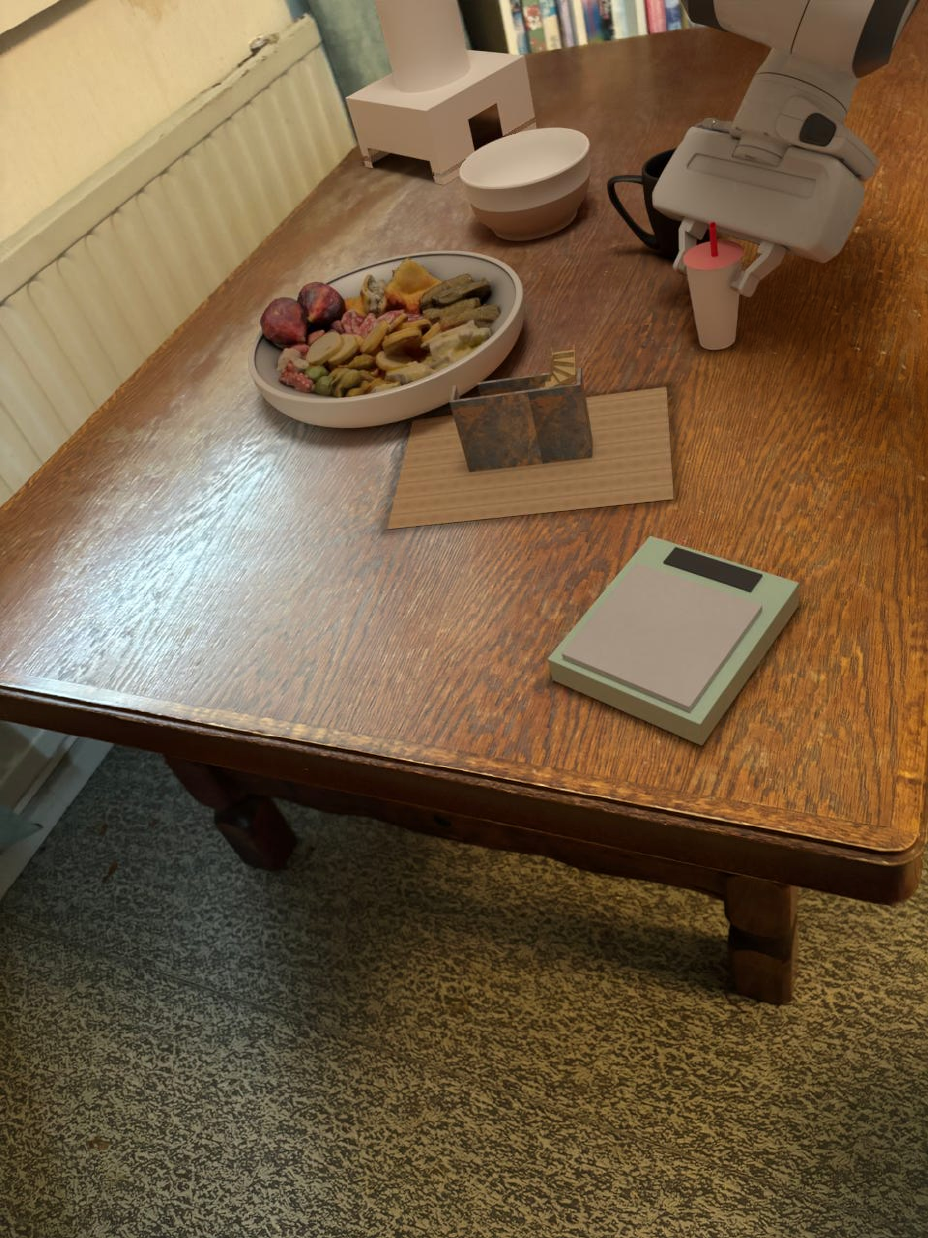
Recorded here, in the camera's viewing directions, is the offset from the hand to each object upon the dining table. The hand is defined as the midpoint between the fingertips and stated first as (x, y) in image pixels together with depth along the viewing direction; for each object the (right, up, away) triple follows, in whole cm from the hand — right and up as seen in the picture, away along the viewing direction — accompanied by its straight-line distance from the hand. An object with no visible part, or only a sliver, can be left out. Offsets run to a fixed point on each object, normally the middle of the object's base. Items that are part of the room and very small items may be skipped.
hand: (709, 283), depth 90 cm
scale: (-8, -33, -20) cm, 39 cm away
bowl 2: (-14, +19, +32) cm, 40 cm away
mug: (0, +10, +19) cm, 22 cm away
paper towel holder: (-25, +39, +56) cm, 73 cm away
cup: (+2, -4, +5) cm, 7 cm away
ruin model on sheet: (-17, -16, -1) cm, 23 cm away
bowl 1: (-30, -3, +16) cm, 34 cm away
